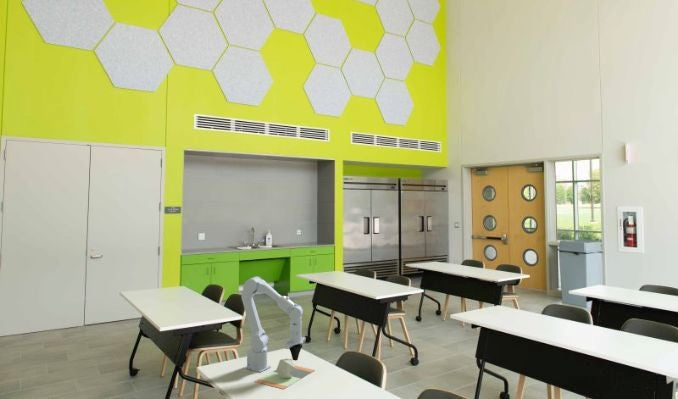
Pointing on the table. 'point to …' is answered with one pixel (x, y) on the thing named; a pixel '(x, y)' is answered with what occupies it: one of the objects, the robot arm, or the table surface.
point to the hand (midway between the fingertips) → (295, 359)
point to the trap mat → (275, 380)
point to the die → (285, 368)
